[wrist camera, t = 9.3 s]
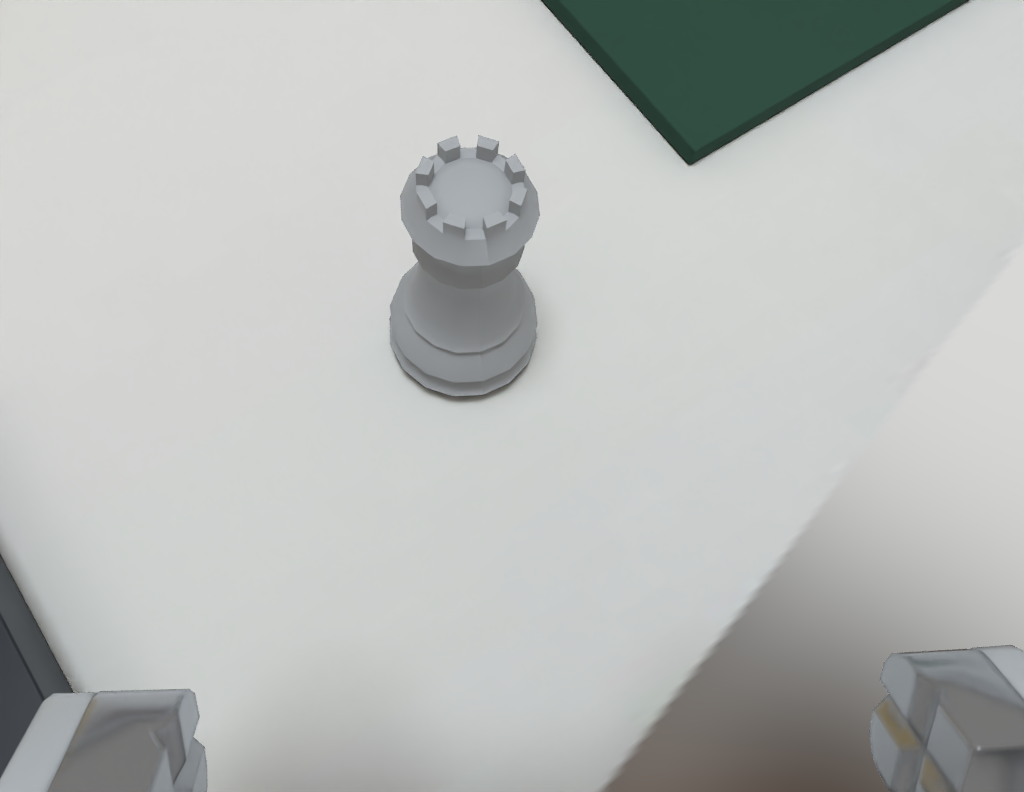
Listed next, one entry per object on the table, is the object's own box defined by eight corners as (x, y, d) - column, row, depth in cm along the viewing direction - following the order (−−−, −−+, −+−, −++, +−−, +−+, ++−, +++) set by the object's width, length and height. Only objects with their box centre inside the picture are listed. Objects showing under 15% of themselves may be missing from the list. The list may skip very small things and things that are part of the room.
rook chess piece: (553, 383, 27) (596, 244, 20) (409, 418, 26) (397, 287, 19) (512, 258, 29) (537, 85, 21) (374, 287, 28) (350, 119, 20)
